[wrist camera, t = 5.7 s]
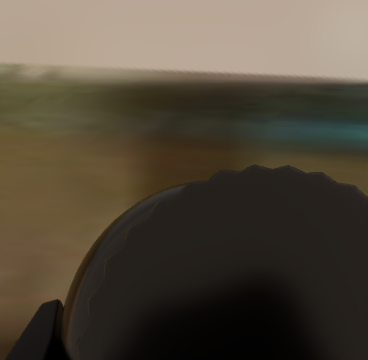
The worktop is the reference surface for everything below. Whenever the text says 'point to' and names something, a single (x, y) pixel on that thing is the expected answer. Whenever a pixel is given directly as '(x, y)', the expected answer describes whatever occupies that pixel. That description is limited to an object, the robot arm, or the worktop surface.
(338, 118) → the worktop surface
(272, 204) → the supplement bottle
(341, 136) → the worktop surface
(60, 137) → the worktop surface
